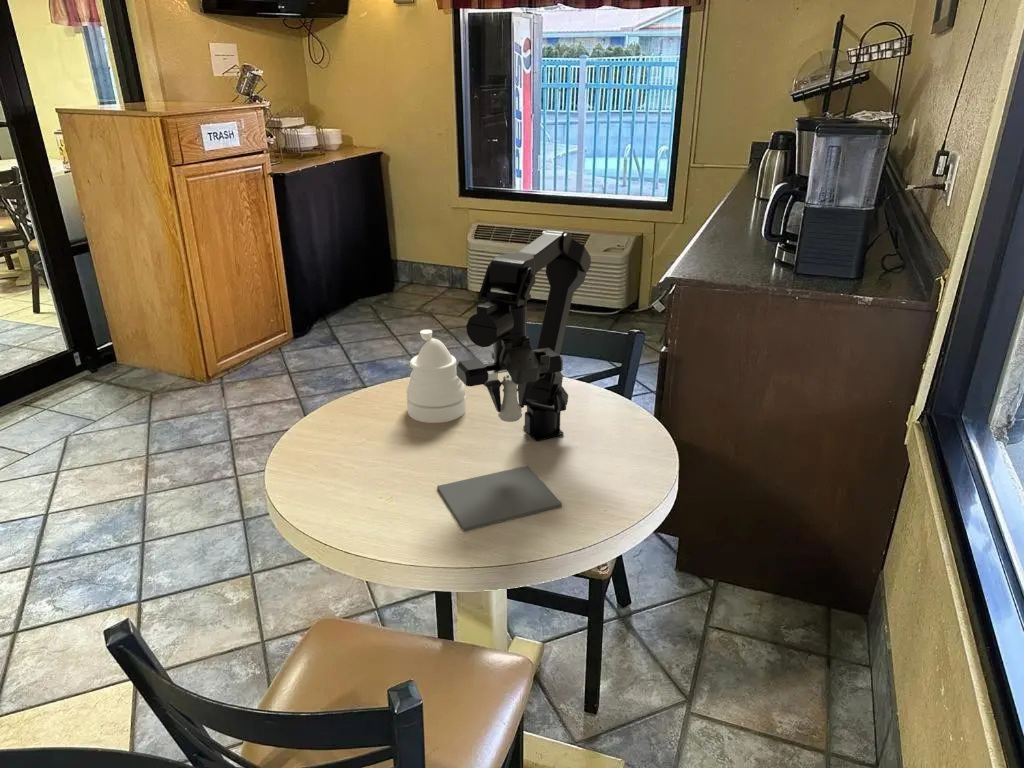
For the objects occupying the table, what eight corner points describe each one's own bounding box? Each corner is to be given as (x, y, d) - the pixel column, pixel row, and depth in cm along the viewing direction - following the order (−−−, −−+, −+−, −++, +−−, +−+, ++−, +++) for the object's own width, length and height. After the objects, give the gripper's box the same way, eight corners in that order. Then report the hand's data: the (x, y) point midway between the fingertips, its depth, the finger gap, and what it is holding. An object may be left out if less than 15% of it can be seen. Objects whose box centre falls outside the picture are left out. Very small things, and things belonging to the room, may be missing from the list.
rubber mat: (528, 468, 136) (528, 465, 135) (561, 506, 124) (562, 503, 124) (437, 488, 129) (437, 485, 129) (464, 531, 117) (463, 528, 117)
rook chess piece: (513, 424, 130) (514, 384, 127) (493, 418, 132) (493, 379, 129) (526, 415, 133) (527, 376, 130) (506, 410, 135) (506, 371, 132)
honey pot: (395, 413, 157) (389, 336, 150) (433, 392, 167) (430, 319, 159) (440, 428, 150) (436, 348, 143) (477, 406, 160) (475, 330, 153)
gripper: (477, 351, 116) (478, 437, 122) (579, 336, 122) (575, 418, 129) (454, 330, 125) (456, 411, 131) (550, 317, 132) (548, 394, 138)
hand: (509, 409), depth 132 cm, fingers closed on rook chess piece, 4 cm apart
